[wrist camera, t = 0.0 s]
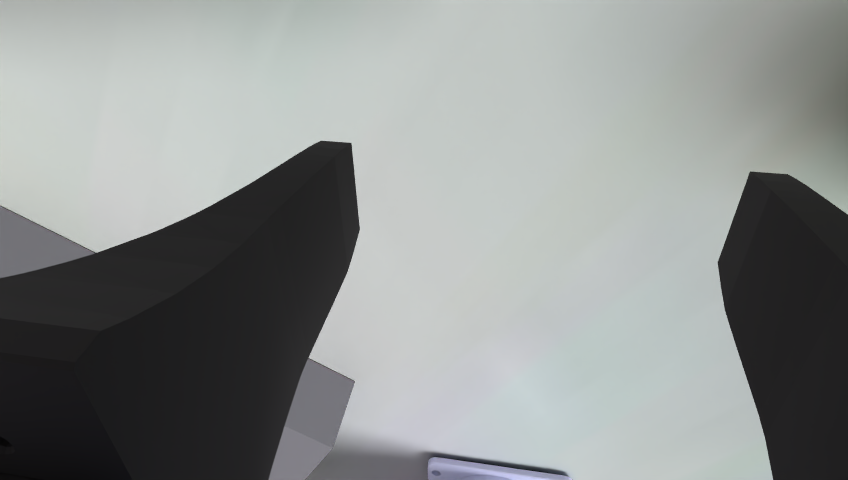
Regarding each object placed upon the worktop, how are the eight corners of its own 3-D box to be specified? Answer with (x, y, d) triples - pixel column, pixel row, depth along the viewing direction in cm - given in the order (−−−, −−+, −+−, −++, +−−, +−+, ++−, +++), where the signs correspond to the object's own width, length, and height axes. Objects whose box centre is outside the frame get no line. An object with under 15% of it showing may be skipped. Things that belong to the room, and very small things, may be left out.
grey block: (354, 381, 32) (332, 448, 29) (287, 463, 38) (263, 526, 35) (-28, 192, 28) (-101, 245, 25) (-36, 315, 34) (-95, 370, 31)
